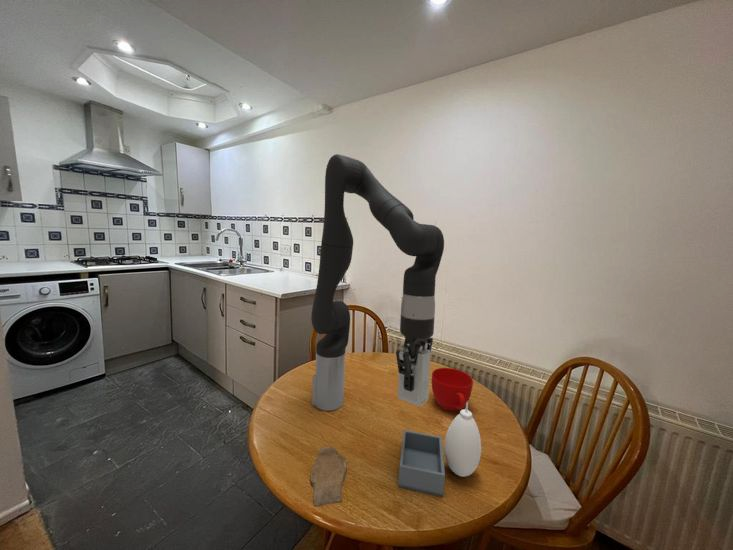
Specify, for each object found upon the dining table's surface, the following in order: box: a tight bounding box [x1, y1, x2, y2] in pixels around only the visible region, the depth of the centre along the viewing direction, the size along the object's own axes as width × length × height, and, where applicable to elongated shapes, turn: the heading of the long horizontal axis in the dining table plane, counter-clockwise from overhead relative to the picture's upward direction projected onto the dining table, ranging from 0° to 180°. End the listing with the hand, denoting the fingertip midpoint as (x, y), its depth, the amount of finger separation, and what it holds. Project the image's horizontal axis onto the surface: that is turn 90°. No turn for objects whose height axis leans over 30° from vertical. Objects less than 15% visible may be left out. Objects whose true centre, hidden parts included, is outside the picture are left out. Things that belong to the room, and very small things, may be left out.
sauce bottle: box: [443, 400, 482, 478], centre depth 65 cm, size 8×8×18 cm
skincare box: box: [397, 346, 432, 408], centre depth 65 cm, size 6×4×12 cm
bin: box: [397, 429, 446, 498], centre depth 66 cm, size 10×12×5 cm
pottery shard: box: [310, 445, 347, 507], centre depth 64 cm, size 8×3×15 cm
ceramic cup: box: [431, 367, 474, 412], centre depth 90 cm, size 13×17×10 cm
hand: (413, 385), depth 65 cm, fingers closed on skincare box, 4 cm apart
